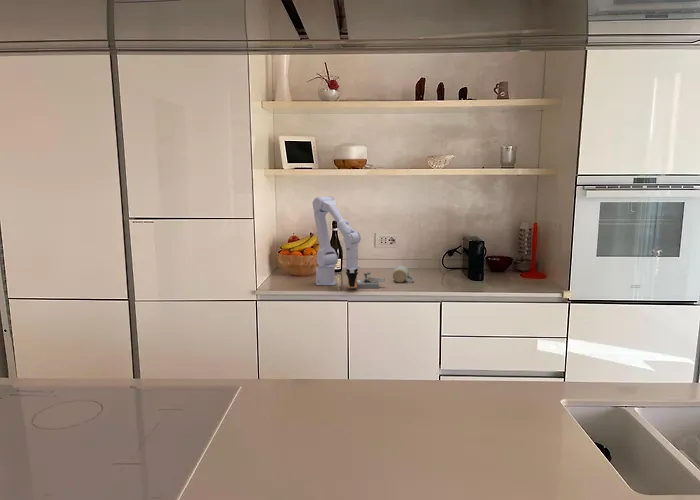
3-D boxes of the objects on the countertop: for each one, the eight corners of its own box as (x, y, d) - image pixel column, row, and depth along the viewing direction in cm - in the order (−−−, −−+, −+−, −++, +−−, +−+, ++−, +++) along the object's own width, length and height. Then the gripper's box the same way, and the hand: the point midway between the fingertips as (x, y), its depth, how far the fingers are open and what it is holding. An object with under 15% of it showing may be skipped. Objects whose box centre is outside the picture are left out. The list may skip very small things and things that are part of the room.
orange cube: (347, 288, 246) (347, 280, 245) (348, 283, 250) (348, 276, 249) (357, 288, 246) (357, 280, 245) (357, 283, 250) (357, 276, 249)
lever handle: (382, 283, 250) (382, 275, 249) (362, 281, 254) (362, 273, 254) (385, 281, 254) (385, 273, 253) (366, 280, 258) (366, 271, 258)
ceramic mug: (392, 282, 263) (392, 268, 262) (394, 279, 271) (394, 265, 270) (412, 284, 261) (413, 269, 259) (414, 280, 269) (414, 266, 267)
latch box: (349, 288, 250) (349, 284, 250) (349, 283, 261) (349, 279, 261) (378, 288, 250) (378, 284, 250) (377, 283, 261) (377, 279, 261)
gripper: (360, 259, 239) (360, 288, 241) (360, 254, 253) (360, 281, 255) (345, 259, 239) (345, 288, 241) (345, 254, 253) (345, 281, 255)
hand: (352, 285), depth 248 cm, fingers open, 6 cm apart
